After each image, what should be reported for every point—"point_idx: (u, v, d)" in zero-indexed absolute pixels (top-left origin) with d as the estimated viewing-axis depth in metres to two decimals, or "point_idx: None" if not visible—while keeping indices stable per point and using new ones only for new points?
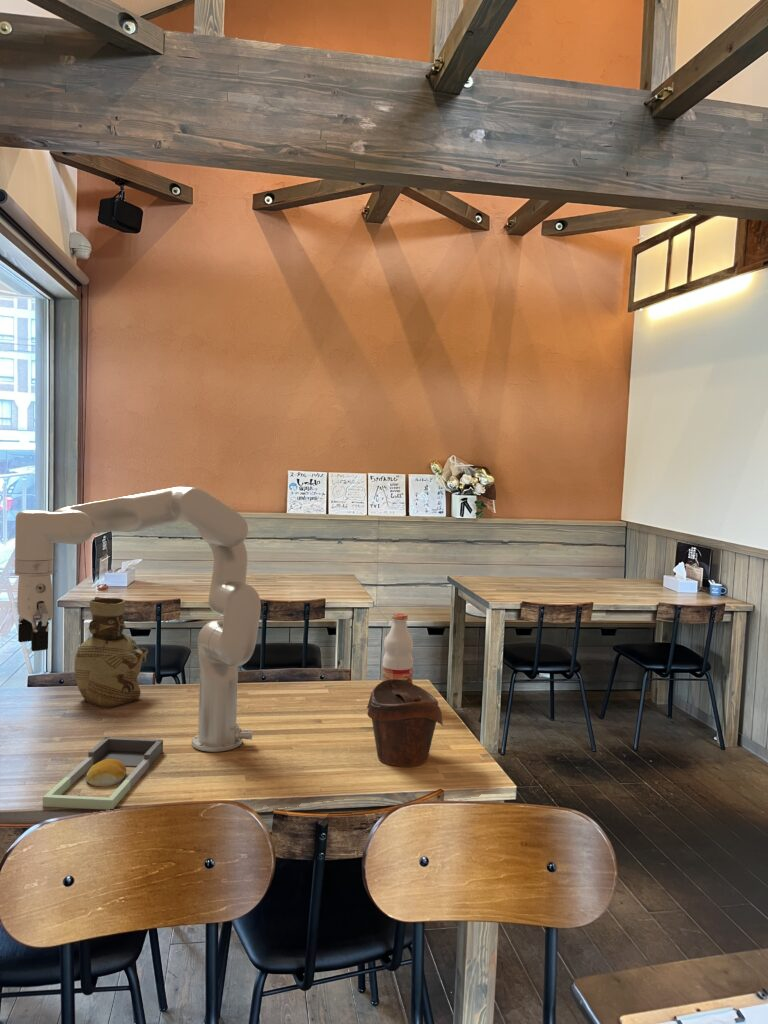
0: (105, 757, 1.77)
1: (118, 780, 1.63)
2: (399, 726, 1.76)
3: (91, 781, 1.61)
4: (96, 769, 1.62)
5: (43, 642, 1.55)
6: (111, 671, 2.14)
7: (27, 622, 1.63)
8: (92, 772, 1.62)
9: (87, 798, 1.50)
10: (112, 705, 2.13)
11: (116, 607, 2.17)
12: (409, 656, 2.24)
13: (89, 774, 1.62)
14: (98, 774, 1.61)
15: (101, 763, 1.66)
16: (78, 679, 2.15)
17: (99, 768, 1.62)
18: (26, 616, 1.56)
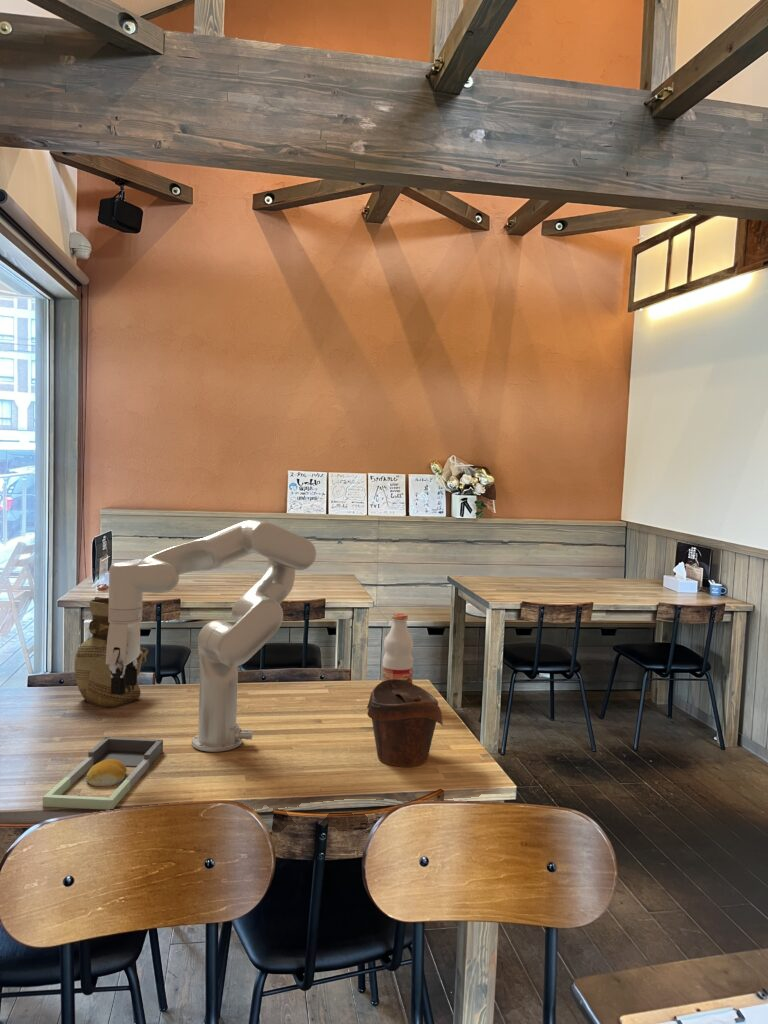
0: (105, 757, 1.77)
1: (118, 780, 1.63)
2: (399, 726, 1.76)
3: (91, 781, 1.61)
4: (96, 769, 1.62)
5: None
6: None
7: None
8: (92, 772, 1.62)
9: (87, 798, 1.50)
10: (112, 705, 2.13)
11: None
12: (409, 656, 2.24)
13: (89, 774, 1.62)
14: (98, 774, 1.61)
15: (101, 763, 1.66)
16: (78, 679, 2.15)
17: (99, 768, 1.62)
18: (137, 654, 1.76)
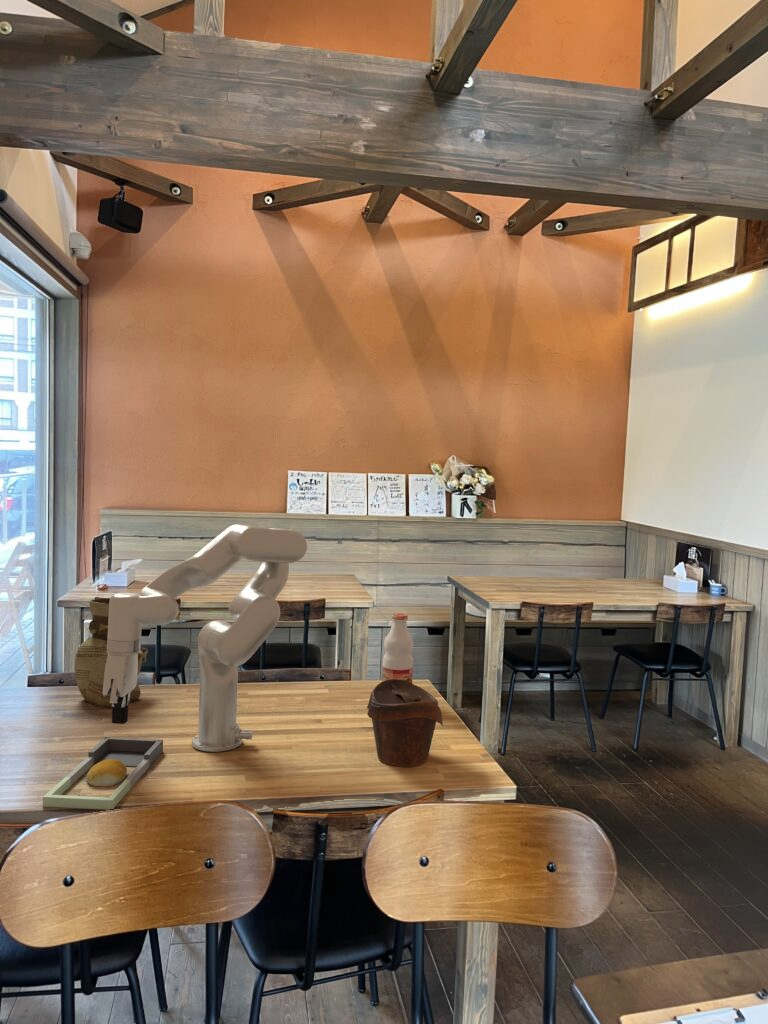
0: (105, 757, 1.77)
1: (119, 780, 1.63)
2: (399, 726, 1.76)
3: (92, 781, 1.61)
4: (97, 769, 1.62)
5: None
6: None
7: None
8: (93, 772, 1.62)
9: (87, 798, 1.50)
10: None
11: None
12: (409, 656, 2.24)
13: (90, 774, 1.62)
14: (99, 774, 1.61)
15: (102, 763, 1.66)
16: (78, 679, 2.15)
17: (100, 768, 1.62)
18: (134, 685, 1.76)
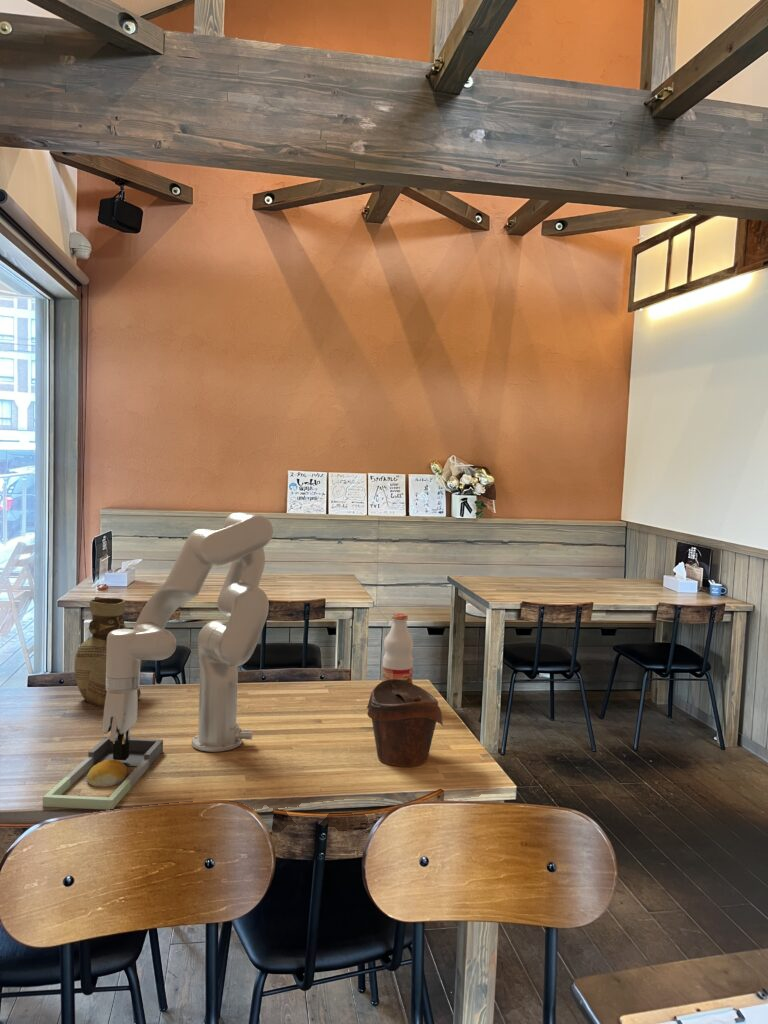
0: (105, 757, 1.77)
1: (119, 780, 1.63)
2: (398, 726, 1.76)
3: (92, 782, 1.61)
4: (97, 769, 1.62)
5: None
6: None
7: None
8: (93, 772, 1.62)
9: (87, 798, 1.50)
10: None
11: (116, 607, 2.17)
12: (409, 656, 2.24)
13: (90, 774, 1.62)
14: (99, 774, 1.61)
15: (102, 763, 1.66)
16: (78, 679, 2.15)
17: (100, 768, 1.62)
18: (134, 721, 1.76)
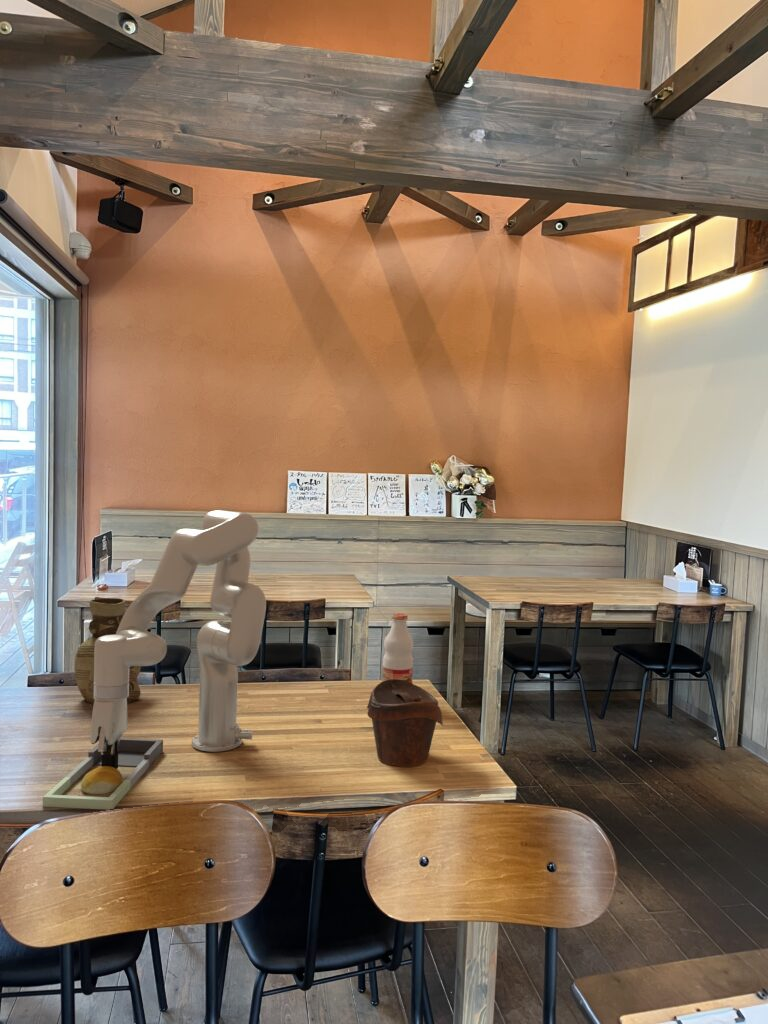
0: None
1: (114, 788, 1.59)
2: (399, 726, 1.76)
3: (86, 789, 1.57)
4: (91, 777, 1.58)
5: None
6: None
7: None
8: (87, 780, 1.58)
9: (87, 798, 1.50)
10: None
11: (116, 607, 2.17)
12: (409, 656, 2.24)
13: (84, 782, 1.58)
14: (94, 781, 1.57)
15: (96, 771, 1.62)
16: (78, 679, 2.15)
17: (94, 776, 1.58)
18: (123, 730, 1.69)
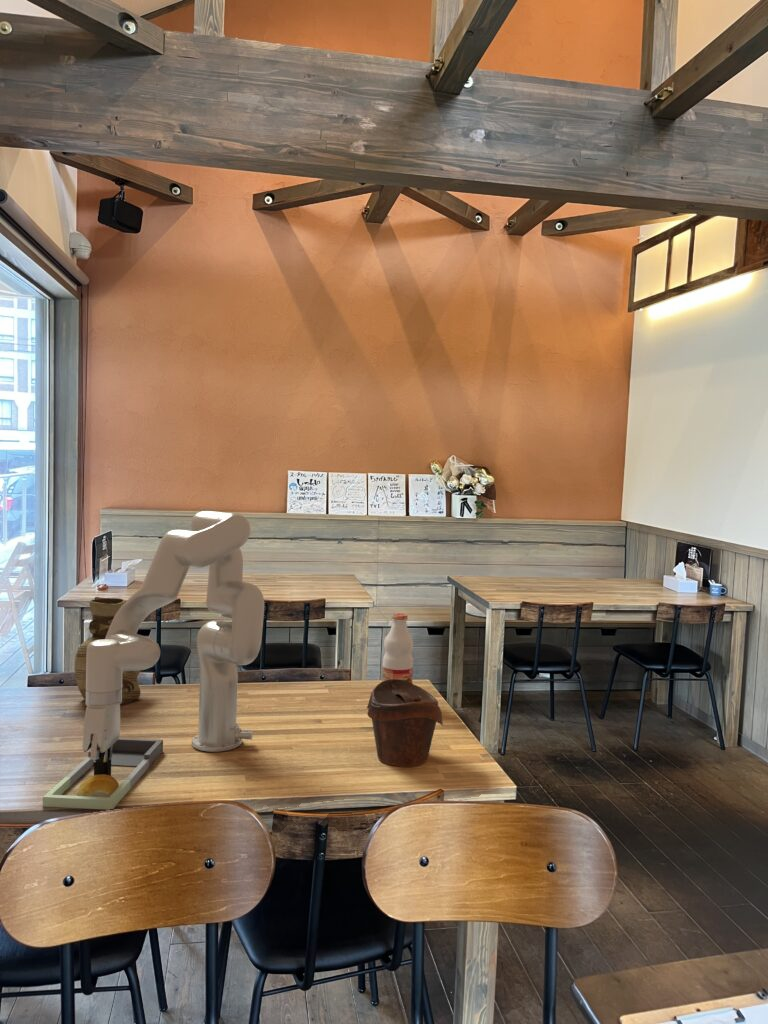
0: None
1: None
2: (399, 726, 1.76)
3: None
4: (88, 786, 1.54)
5: None
6: None
7: None
8: (84, 789, 1.54)
9: (87, 798, 1.50)
10: None
11: (116, 607, 2.17)
12: (409, 656, 2.24)
13: (81, 791, 1.54)
14: (91, 790, 1.53)
15: (92, 779, 1.57)
16: (78, 679, 2.15)
17: (91, 784, 1.54)
18: (116, 737, 1.65)
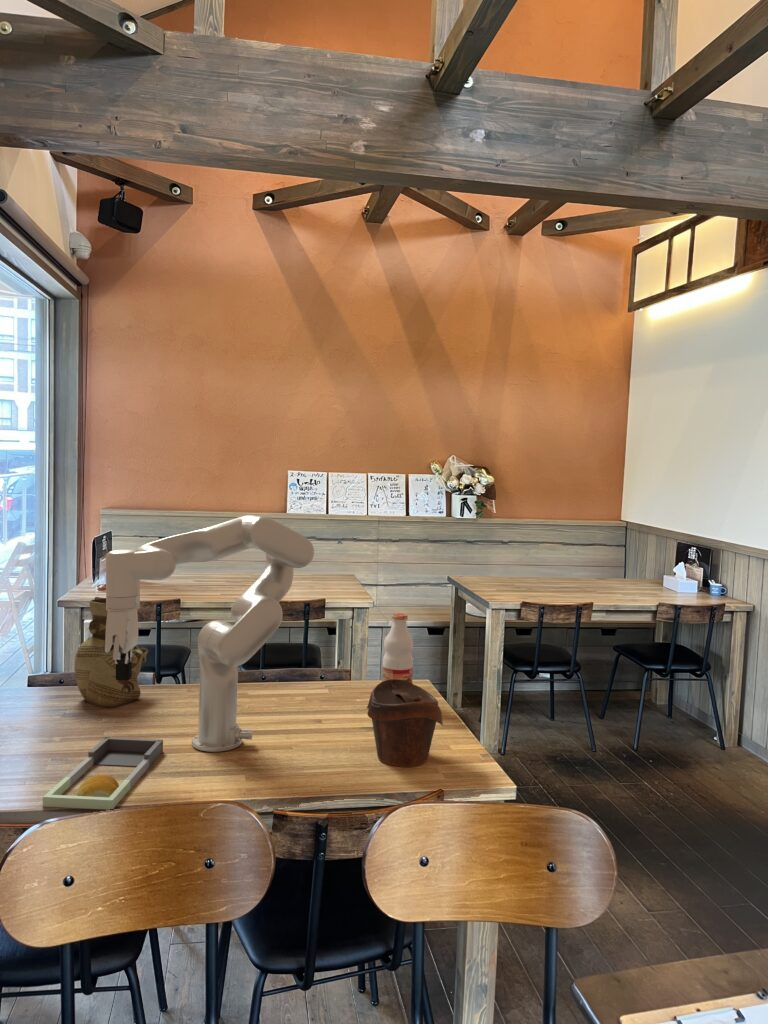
0: (105, 757, 1.77)
1: None
2: (399, 726, 1.76)
3: None
4: (88, 786, 1.54)
5: None
6: (111, 671, 2.14)
7: None
8: (84, 789, 1.53)
9: (87, 798, 1.50)
10: (112, 705, 2.13)
11: None
12: (409, 656, 2.24)
13: (80, 791, 1.53)
14: (90, 791, 1.53)
15: (92, 779, 1.57)
16: (78, 679, 2.15)
17: (91, 785, 1.54)
18: (135, 642, 1.75)
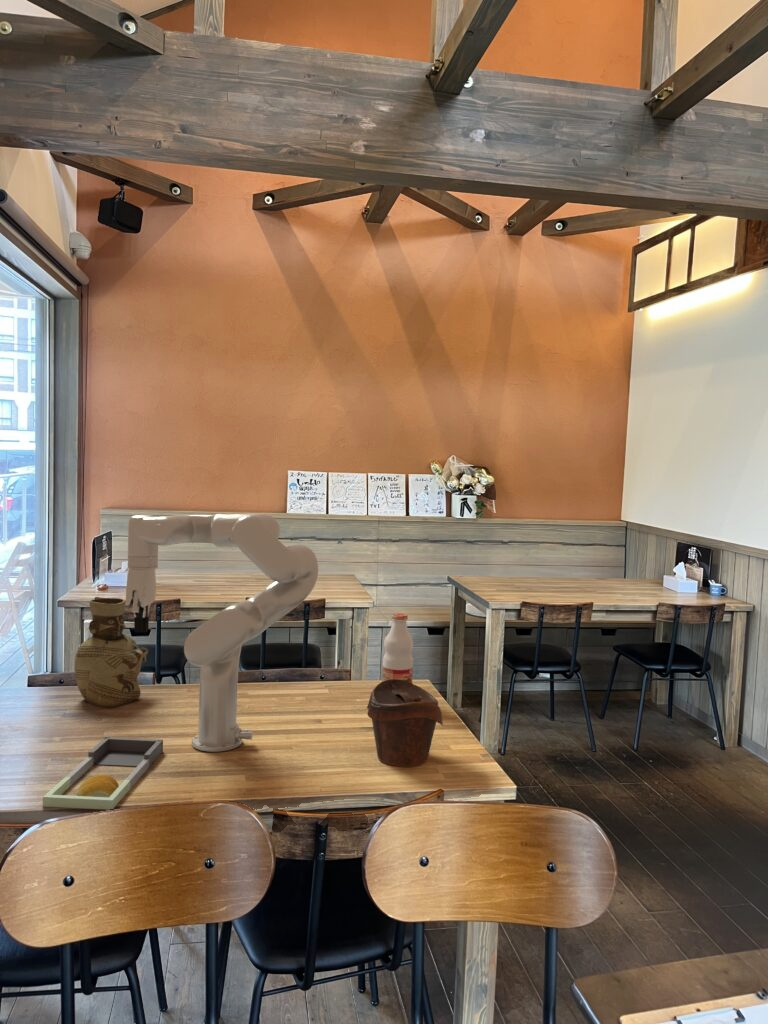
0: (105, 757, 1.77)
1: None
2: (399, 726, 1.76)
3: None
4: (88, 786, 1.54)
5: None
6: (111, 671, 2.14)
7: None
8: (83, 789, 1.53)
9: (87, 798, 1.50)
10: (112, 705, 2.13)
11: (116, 607, 2.17)
12: (409, 656, 2.24)
13: (80, 792, 1.53)
14: (90, 791, 1.53)
15: (92, 779, 1.57)
16: (78, 679, 2.15)
17: (91, 785, 1.54)
18: (153, 599, 1.95)
